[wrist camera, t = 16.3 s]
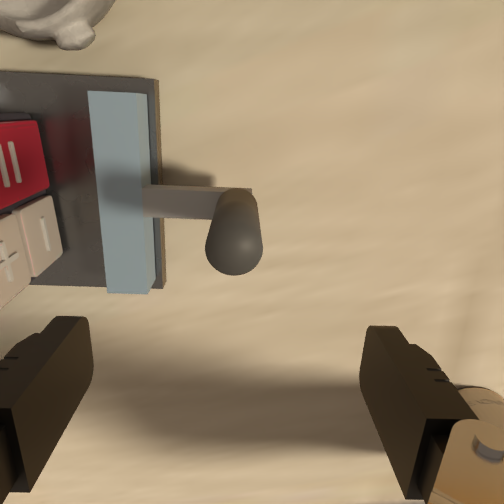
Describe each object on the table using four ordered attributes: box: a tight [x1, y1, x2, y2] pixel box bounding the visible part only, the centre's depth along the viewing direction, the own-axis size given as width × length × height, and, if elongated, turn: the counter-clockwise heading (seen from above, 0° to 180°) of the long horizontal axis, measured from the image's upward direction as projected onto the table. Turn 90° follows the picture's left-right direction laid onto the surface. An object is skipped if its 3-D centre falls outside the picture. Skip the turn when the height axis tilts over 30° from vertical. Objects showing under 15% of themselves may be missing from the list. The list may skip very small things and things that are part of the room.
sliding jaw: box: [87, 91, 263, 294], centre depth 24 cm, size 11×14×11 cm
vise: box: [0, 71, 166, 289], centre depth 28 cm, size 16×16×4 cm
